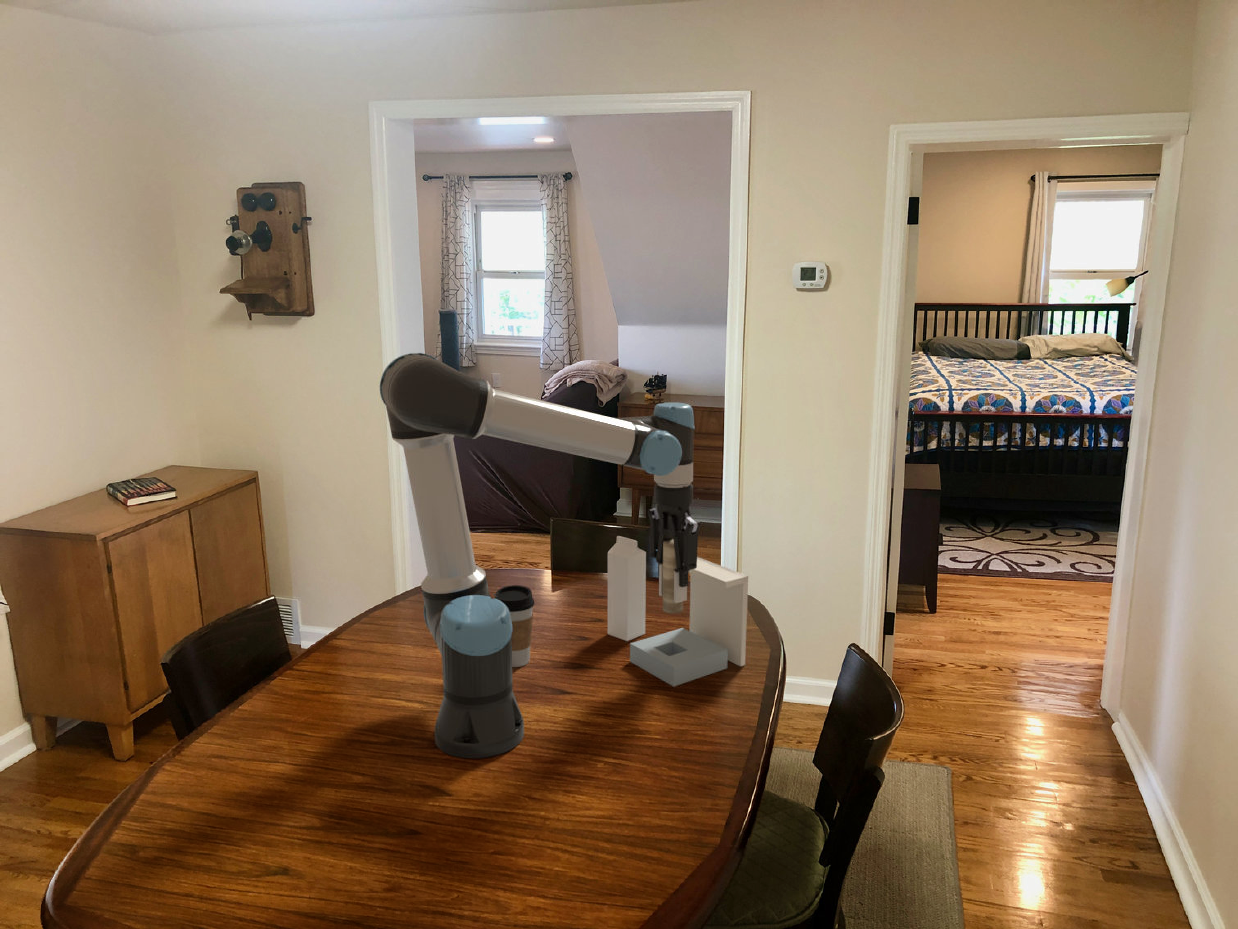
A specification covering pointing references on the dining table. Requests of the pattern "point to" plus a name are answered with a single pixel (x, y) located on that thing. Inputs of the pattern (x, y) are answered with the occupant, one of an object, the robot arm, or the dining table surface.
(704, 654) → the socket block
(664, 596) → the birch peg
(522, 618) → the coffee cup
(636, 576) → the milk
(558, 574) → the dining table surface
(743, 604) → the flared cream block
